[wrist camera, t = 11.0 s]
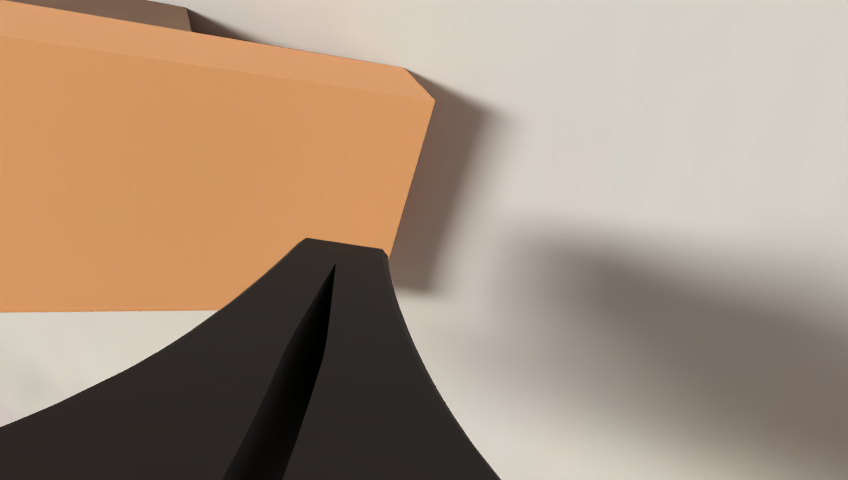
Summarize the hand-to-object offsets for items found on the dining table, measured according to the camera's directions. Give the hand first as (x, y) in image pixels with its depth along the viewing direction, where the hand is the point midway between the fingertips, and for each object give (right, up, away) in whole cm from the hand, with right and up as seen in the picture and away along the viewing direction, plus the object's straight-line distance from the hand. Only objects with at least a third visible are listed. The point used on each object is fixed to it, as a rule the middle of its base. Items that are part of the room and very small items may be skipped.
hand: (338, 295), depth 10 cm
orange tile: (+1, +2, +4) cm, 4 cm away
